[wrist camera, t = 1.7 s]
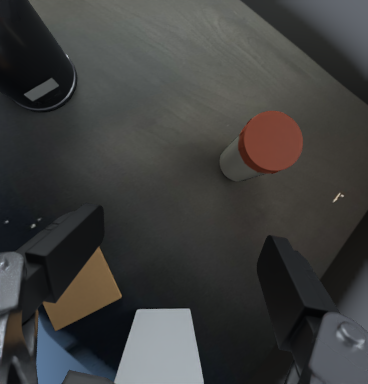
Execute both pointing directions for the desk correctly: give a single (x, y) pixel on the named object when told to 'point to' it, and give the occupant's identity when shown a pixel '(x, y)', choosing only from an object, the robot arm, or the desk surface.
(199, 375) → the milk carton
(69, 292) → the mat
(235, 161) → the jar
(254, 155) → the lid
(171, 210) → the desk surface
